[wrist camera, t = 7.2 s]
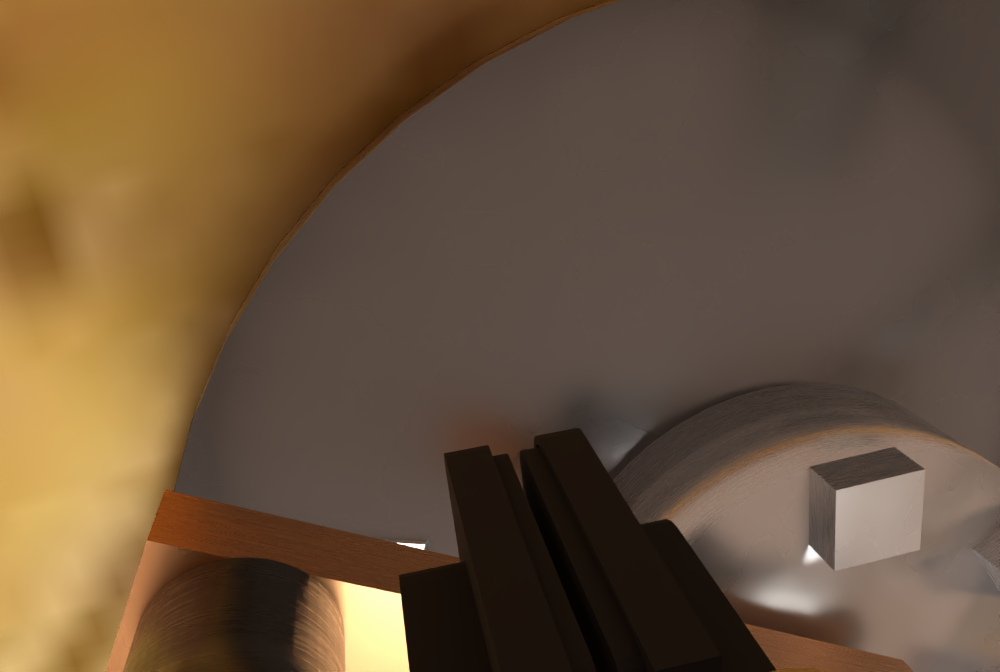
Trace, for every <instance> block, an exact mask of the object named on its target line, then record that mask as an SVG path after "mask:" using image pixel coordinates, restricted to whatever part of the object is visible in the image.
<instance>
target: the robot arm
mask: <svg viewBox="0 0 1000 672" xmlns="http://www.w3.org/2000/svg"><path fill="white" fill-rule="evenodd" d="M444 462H445V469H446V476H447V482H448V488H449V495H450V501H451V508H452V514H453V520H454V527H455V533H456V540H457V546H458V552H459V559H460V562H458V563H453V564H449V565H444V566H439V567H434V568H429V569H425V570H420V571H415V572H410V573H406V574H401V575H399V583H400V593H401V602H402V610H403V619H404V628H405V637H406V645H407V654H408V663H409V672H828V671H823V670H819V669H815V668H784V669H780V670H776V668H775V667H774V666H773V664H772V663H771V661H770V660H769V658H768V657H767V656H766V654H765V653H764V651H763V650H762V648H761V647H760V645H759V644H758V643H757V641H756V640H755V638H754V637H753V635H752V634H751V632H750V631H749V630H748V628H747V627H746V625H745V624H744V622H743V621H742V620H741V618H740V617H739V615H738V614H737V612H736V611H735V609H734V608H733V607H732V605H731V604H730V602H729V601H728V599H727V598H726V596H725V595H724V594H723V592H722V591H721V589H720V588H719V586H718V585H717V584H716V582H715V581H714V579H713V578H712V576H711V575H710V573H709V572H708V571H707V569H706V568H705V566H704V565H703V563H702V562H701V560H700V559H699V558H698V556H697V555H696V553H695V552H694V550H693V549H692V548H691V546H690V545H689V543H688V542H687V540H686V539H685V537H684V536H683V535H682V533H681V532H680V530H679V529H678V528H677V526H676V525H675V524H674V523H673V522H672V521H671V520H668V519H663V520H658V521H654V522H649V523H644V524H640V523H639V522H638V520H637V518H636V517H635V515H634V514H633V512H632V510H631V509H630V507H629V506H628V504H627V502H626V501H625V499H624V498H623V496H622V494H621V493H620V491H619V489H618V488H617V486H616V485H615V483H614V481H613V480H612V478H611V477H610V475H609V473H608V472H607V470H606V469H605V467H604V465H603V464H602V462H601V461H600V459H599V457H598V456H597V454H596V453H595V451H594V449H593V448H592V446H591V444H590V443H589V441H588V440H587V438H586V436H585V435H584V433H583V432H582V430H581V429H580V428H574V429H568V430H563V431H558V432H553V433H547V434H542V435H537V436H535V437H534V448H532V449H527V450H521V451H520V466H521V475H522V483H523V489H522V486H521V484H520V481H519V479H518V476H517V474H516V472H515V469H514V467H513V464H512V462H511V459H510V457H509V455H508V453H506V454H501V455H496V456H492V453H491V450H490V448H489V446H488V445H485V446H479V447H474V448H469V449H464V450H458V451H453V452H448V453H444Z"/></svg>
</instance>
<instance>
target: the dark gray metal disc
mask: <svg viewBox="0 0 1000 672" xmlns="http://www.w3.org/2000/svg"><path fill="white" fill-rule="evenodd" d="M799 383H828V384H837V385H845V386H852V387H855V388H859V389H863V390H867V391H870V392H874V393H877V394H879V395H881V396H883V397H885V398H888V399H890V400H892V401H894V402H897V403H898V404H900V405H902V406H903V407H905V408H906V409H908V410H909V411H911V412H912V413H914V414H916V415H917V416H919V417H920V418H922V419H923V420H925V421H927V422H928V423H930V424H931V425H933V426H934V427H936V428H938V429H939V430H941V431H942V432H944V433H945V434H947V435H949V436H950V437H952V438H953V439H955V440H956V441H958V442H960V443H961V444H963V445H964V446H966V447H967V448H969V449H971V450H972V451H974V452H975V453H977V454H978V455H980V456H982V457H983V458H985V459H986V460H988V461H989V462H991V463H993V464H994V465H996V466H997V467H999V468H1000V0H609V1H606V2H603V3H600V4H597V5H595V6H592V7H589V8H586V9H583V10H581V11H578V12H575V13H572V14H569V15H567V16H564V17H561V18H558V19H556V20H554V21H552V22H550V23H548V24H546V25H544V26H542V27H540V28H539V29H537V30H535V31H533V32H531V33H529V34H527V35H525V36H523V37H521V38H519V39H518V40H516V41H514V42H512V43H510V44H508V45H506V46H504V47H502V48H500V49H498V50H496V51H495V52H493V53H491V54H489V55H487V56H485V57H483V58H481V59H479V60H477V61H475V62H474V63H473V64H471V65H470V66H468V67H467V68H466V69H464V70H463V71H461V72H460V73H459V74H457V75H456V76H454V77H453V78H451V79H450V80H449V81H447V82H446V83H444V84H443V85H442V86H440V87H439V88H437V89H436V90H435V91H433V92H432V93H430V94H429V95H428V96H426V97H425V98H423V99H422V100H421V101H419V102H418V103H416V104H415V105H413V106H412V107H411V108H409V109H408V110H406V111H405V112H404V113H402V114H401V115H400V116H398V117H397V118H396V119H395V120H394V121H393V122H392V123H391V124H390V125H389V126H388V127H387V128H386V129H385V130H384V131H382V132H381V133H380V134H379V135H378V136H377V137H376V138H375V139H374V140H373V141H372V142H371V143H370V144H369V145H368V146H366V147H365V148H364V149H363V150H362V151H361V152H360V153H359V154H358V155H357V156H356V157H355V158H354V159H353V160H351V161H350V162H349V163H348V164H347V165H346V166H345V167H344V168H343V169H342V170H341V171H340V172H339V173H338V174H337V175H335V176H334V177H333V179H332V180H331V181H330V182H329V183H328V185H327V186H326V187H325V188H324V190H323V191H322V192H321V193H320V195H319V196H318V197H317V198H316V199H315V201H314V202H313V203H312V204H311V206H310V207H309V208H308V209H307V211H306V212H305V213H304V214H303V215H302V217H301V218H300V219H299V220H298V222H297V223H296V224H295V225H294V227H293V228H292V229H291V230H290V231H289V233H288V234H287V235H286V236H285V238H284V239H283V240H282V241H281V243H280V244H279V245H278V246H277V248H276V249H275V251H274V253H273V254H272V256H271V258H270V259H269V261H268V263H267V264H266V266H265V268H264V269H263V271H262V273H261V274H260V276H259V278H258V279H257V281H256V283H255V284H254V286H253V288H252V289H251V291H250V292H249V294H248V296H247V297H246V299H245V301H244V302H243V304H242V306H241V307H240V309H239V311H238V312H237V314H236V316H235V317H234V319H233V321H232V323H231V326H230V328H229V330H228V333H227V335H226V337H225V340H224V342H223V345H222V347H221V349H220V352H219V354H218V356H217V359H216V361H215V364H214V366H213V368H212V371H211V373H210V375H209V378H208V380H207V382H206V385H205V387H204V390H203V392H202V394H201V397H200V400H199V403H198V405H197V408H196V411H195V414H194V417H193V420H192V423H191V427H190V431H189V435H188V439H187V443H186V446H185V450H184V454H183V458H182V462H181V466H180V470H179V474H178V478H177V482H176V486H175V490H174V492H177V493H181V494H186V495H190V496H194V497H199V498H203V499H207V500H212V501H216V502H220V503H225V504H229V505H233V506H238V507H242V508H246V509H251V510H255V511H259V512H264V513H268V514H272V515H277V516H281V517H285V518H290V519H294V520H298V521H303V522H307V523H311V524H316V525H320V526H324V527H329V528H333V529H337V530H342V531H346V532H350V533H355V534H359V535H363V536H368V537H372V538H377V539H381V540H385V541H390V542H394V543H398V544H403V545H407V546H411V547H416V548H420V549H424V550H429V551H433V552H437V553H442V554H446V555H450V556H455V557H459V552H458V546H457V540H456V533H455V527H454V520H453V514H452V508H451V501H450V495H449V488H448V482H447V476H446V469H445V462H444V453H448V452H453V451H458V450H464V449H469V448H474V447H479V446H485V445H488V446H489V448H490V450H491V453H492V456H496V455H501V454H506V453H508V455H509V457H510V459H511V462H512V464H513V467H514V469H515V472H516V474H517V476H518V479H519V481H520V484H521V486H522V489H523V483H522V475H521V466H520V451H521V450H527V449H532V448H534V437H535V436H537V435H542V434H547V433H553V432H558V431H563V430H568V429H574V428H580V429H581V430H582V432H583V433H584V435H585V436H586V438H587V440H588V441H589V443H590V444H591V446H592V448H593V449H594V451H595V453H596V454H597V456H598V457H599V459H600V461H601V462H602V464H603V465H604V467H605V469H606V470H607V472H608V473H609V475H610V477H611V478H612V480H614V479H615V478H616V477H617V476H618V475H619V473H620V472H621V471H622V470H623V469H624V468H625V467H626V466H627V465H628V464H629V463H630V462H631V461H632V460H633V459H634V458H635V457H636V456H638V455H639V454H640V453H641V452H642V451H643V450H644V449H645V448H647V447H648V446H649V445H650V444H651V443H652V442H654V441H655V440H656V439H658V438H659V437H661V436H662V435H664V434H665V433H666V432H668V431H669V430H671V429H672V428H674V427H675V426H676V425H678V424H679V423H681V422H683V421H685V420H687V419H688V418H690V417H692V416H694V415H696V414H698V413H699V412H701V411H703V410H705V409H707V408H709V407H711V406H714V405H716V404H719V403H721V402H724V401H726V400H728V399H731V398H733V397H736V396H739V395H743V394H746V393H750V392H753V391H757V390H761V389H764V388H769V387H776V386H782V385H789V384H799Z"/></svg>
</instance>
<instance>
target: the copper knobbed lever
mask: <svg viewBox="0 0 1000 672" xmlns="http://www.w3.org/2000/svg"><path fill="white" fill-rule="evenodd" d="M613 481H614V483H615V485H616V486H617V488H618V489H619V491H620V493H621V494H622V496H623V498H624V499H625V501H626V502H627V504H628V506H629V507H630V509H631V510H632V512H633V514H634V515H635V517H636V518H637V520H638V522H639V523H640V524H644V523H649V522H654V521H658V520H663V519H668V520H671V521H672V522H673V523H674V524H675V525H676V526H677V528H678V529H679V530H680V532H681V533H682V535H683V536H684V537H685V539H686V540H687V542H688V543H689V545H690V546H691V548H692V549H693V550H694V552H695V553H696V555H697V556H698V558H699V559H700V560H701V562H702V563H703V565H704V566H705V568H706V569H707V571H708V572H709V573H710V575H711V576H712V578H713V579H714V581H715V582H716V584H717V585H718V586H719V588H720V589H721V591H722V592H723V594H724V595H725V596H726V598H727V599H728V601H729V602H730V604H731V605H732V607H733V608H734V609H735V611H736V612H737V614H738V615H739V617H740V618H741V620H742V621H743V622H744V624H745V625H746V627H747V628H748V630H749V631H750V632H751V634H752V635H753V637H754V638H755V640H756V641H757V643H758V644H759V645H760V647H761V648H762V650H763V651H764V653H765V654H766V656H767V657H768V658H769V660H770V661H771V663H772V664H773V666H774V667H775V668H776V670H780V669H784V668H815V669H819V670H823V671H828V672H1000V468H999V467H997V466H996V465H994V464H993V463H991V462H989V461H988V460H986V459H985V458H983V457H982V456H980V455H978V454H977V453H975V452H974V451H972V450H971V449H969V448H967V447H966V446H964V445H963V444H961V443H960V442H958V441H956V440H955V439H953V438H952V437H950V436H949V435H947V434H945V433H944V432H942V431H941V430H939V429H938V428H936V427H934V426H933V425H931V424H930V423H928V422H927V421H925V420H923V419H922V418H920V417H919V416H917V415H916V414H914V413H912V412H911V411H909V410H908V409H906V408H905V407H903V406H902V405H900V404H898V403H897V402H894V401H892V400H890V399H888V398H885V397H883V396H881V395H879V394H877V393H874V392H870V391H867V390H863V389H859V388H855V387H852V386H845V385H837V384H828V383H799V384H789V385H782V386H776V387H769V388H764V389H761V390H757V391H753V392H750V393H746V394H743V395H739V396H736V397H733V398H731V399H728V400H726V401H724V402H721V403H719V404H716V405H714V406H711V407H709V408H707V409H705V410H703V411H701V412H699V413H698V414H696V415H694V416H692V417H690V418H688V419H687V420H685V421H683V422H681V423H679V424H678V425H676V426H675V427H674V428H672V429H671V430H669V431H668V432H666V433H665V434H664V435H662V436H661V437H659V438H658V439H656V440H655V441H654V442H652V443H651V444H650V445H649V446H648V447H647V448H645V449H644V450H643V451H642V452H641V453H640V454H639V455H638V456H636V457H635V458H634V459H633V460H632V461H631V462H630V463H629V464H628V465H627V466H626V467H625V468H624V469H623V470H622V471H621V472H620V473H619V475H618V476H617V477H616V478H615V479H614V480H613ZM458 562H460V559H459V557H455V556H450V555H446V554H442V553H437V552H433V551H429V550H424V549H420V548H416V547H411V546H407V545H403V544H398V543H394V542H390V541H385V540H381V539H377V538H372V537H368V536H363V535H359V534H355V533H350V532H346V531H342V530H337V529H333V528H329V527H324V526H320V525H316V524H311V523H307V522H303V521H298V520H294V519H290V518H285V517H281V516H277V515H272V514H268V513H264V512H259V511H255V510H251V509H246V508H242V507H238V506H233V505H229V504H225V503H220V502H216V501H212V500H207V499H203V498H199V497H194V496H190V495H186V494H181V493H177V492H173V491H168V490H165V492H164V494H163V497H162V500H161V503H160V506H159V508H158V511H157V514H156V517H155V519H154V522H153V525H152V528H151V531H150V533H149V536H148V539H147V542H146V545H145V548H144V551H143V554H142V558H141V561H140V564H139V567H138V570H137V573H136V576H135V580H134V583H133V586H132V589H131V592H130V595H129V598H128V602H127V605H126V608H125V611H124V614H123V617H122V621H121V624H120V627H119V630H118V633H117V636H116V639H115V643H114V646H113V649H112V652H111V655H110V658H109V661H108V665H107V668H106V671H105V672H409V663H408V654H407V645H406V637H405V628H404V619H403V610H402V602H401V593H400V583H399V575H401V574H406V573H410V572H415V571H420V570H425V569H429V568H434V567H439V566H444V565H449V564H453V563H458Z"/></svg>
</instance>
